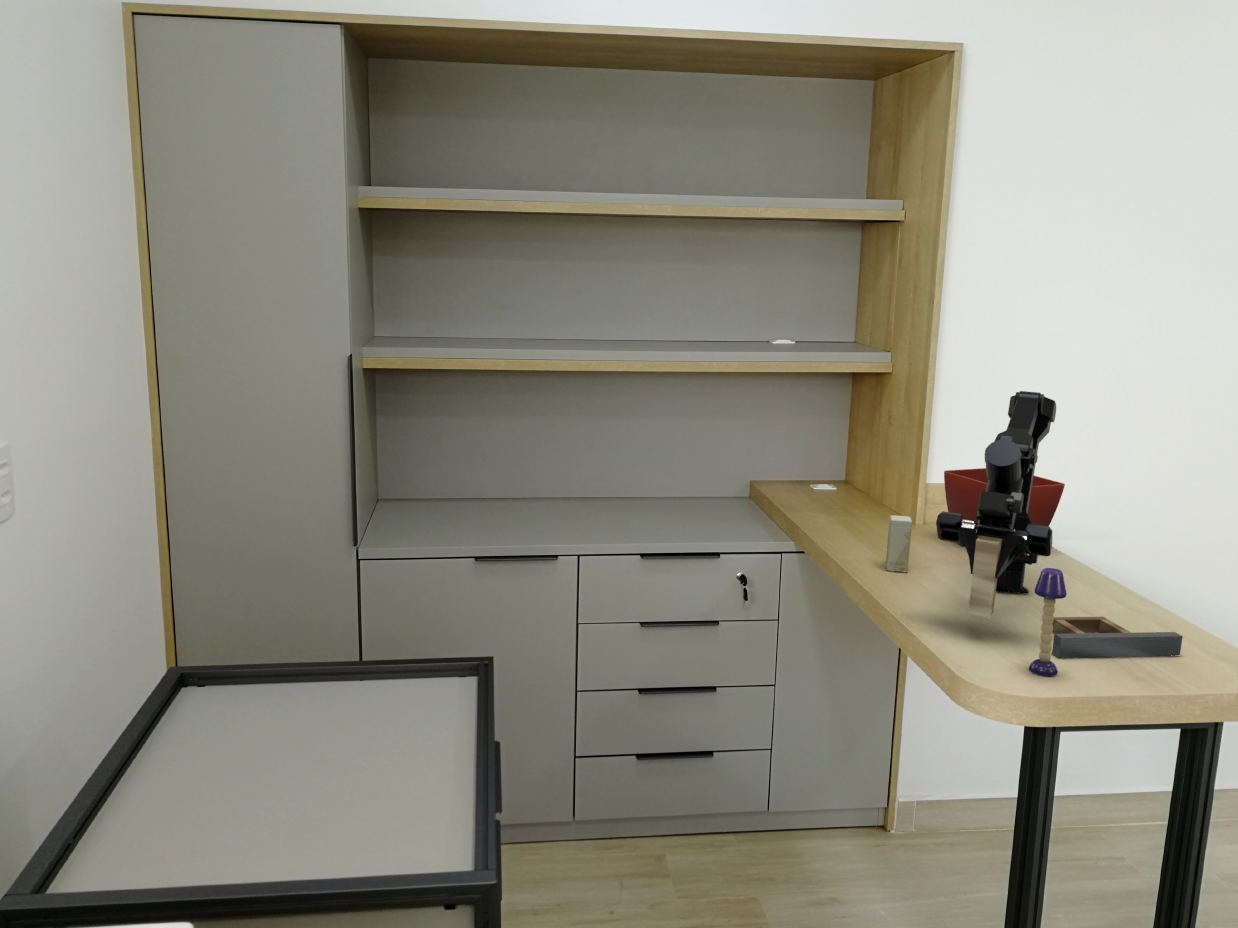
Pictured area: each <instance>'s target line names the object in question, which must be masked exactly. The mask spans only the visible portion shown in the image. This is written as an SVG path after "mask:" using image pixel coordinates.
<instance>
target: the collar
mask: <svg viewBox="0 0 1238 928" xmlns="http://www.w3.org/2000/svg"><path fill="white" fill-rule="evenodd" d="M1052 625H1053V632H1052V633H1051V634H1077V633H1132V632H1131V631H1130V630H1128V629H1126V628H1124V627H1122V626H1120V625H1119V624H1117V623H1116V622H1114V621H1111V620H1110V619H1108V618H1106V617H1104V616H1057V617H1056V616H1054V621H1053V623H1052Z"/></svg>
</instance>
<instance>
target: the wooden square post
mask: <svg viewBox="0 0 1238 928" xmlns="http://www.w3.org/2000/svg"><path fill="white" fill-rule="evenodd" d="M1001 543H1002V539H999V538H992V537H985V536H979V537H978V539H977V540H976V546H975V556H974V565H973V574H971V575H972V576H971V585H970V593H969V602H968V609H967V610H968V612H967V613H968V614H969V615H973V616H979V617H985V618H991V617H992V615H993V614H994V611H995V605H996V604H995V602H996V595H997V592H996V587H997V578H995V573H996V568H997V564H998V562H999V559H1000V552H1001Z"/></svg>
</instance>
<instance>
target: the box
mask: <svg viewBox="0 0 1238 928" xmlns="http://www.w3.org/2000/svg"><path fill="white" fill-rule="evenodd" d="M888 522H889V523H888V535H887V536H888V537H887V546H886V557H885V568H887V569H886V571H887V570H894V571H905V572H904V573H906V572H907V573H908V570H909V559H910V551H911V550H910V549H911V548H910V547H911V538H912V537H911V536H912V529H913V528H912V526H913V520H912V517H911V516H908V515H906V516H905V515H895V514H893V515H892V514H891V515H889V521H888ZM894 571H893V572H894Z"/></svg>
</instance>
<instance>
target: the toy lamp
mask: <svg viewBox="0 0 1238 928" xmlns="http://www.w3.org/2000/svg"><path fill="white" fill-rule="evenodd" d="M1065 582H1066V581H1065V577H1064V574H1063V571H1062V570H1061V569H1058V568H1055V567H1054V568H1053V567H1045V568H1043V569H1042V570H1041V572H1040V574H1039V577H1038V580H1037V582H1036V584H1035V587H1034V591H1033V593H1034V594H1035V595H1036V596H1038V597H1040V598H1043V603H1044V604H1043V607H1042V612H1043V614H1042V617H1041V621H1042V623H1041V626H1040V629H1041V633H1040V643H1039V651H1040V652H1039V654H1038V657H1039V658H1037V659H1034V660H1033V661H1031V662H1030V665H1029V666H1028V671H1029V672H1031V673H1032V674H1035V675H1038V676H1041V677H1055V676H1057V675H1058V672H1059V671H1058V668H1057V666H1056V664H1055V662H1052V661H1051V657H1052V653H1051V652H1052V648H1053V645H1052V642H1053V641H1052V640H1053V633H1052V632H1053V625H1052V623H1053V621H1054V617H1055V616H1054V614H1055V610H1056V608H1055V604H1056V601H1057V600H1062V599H1064V598H1066V597H1067V589H1066V583H1065Z"/></svg>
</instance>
